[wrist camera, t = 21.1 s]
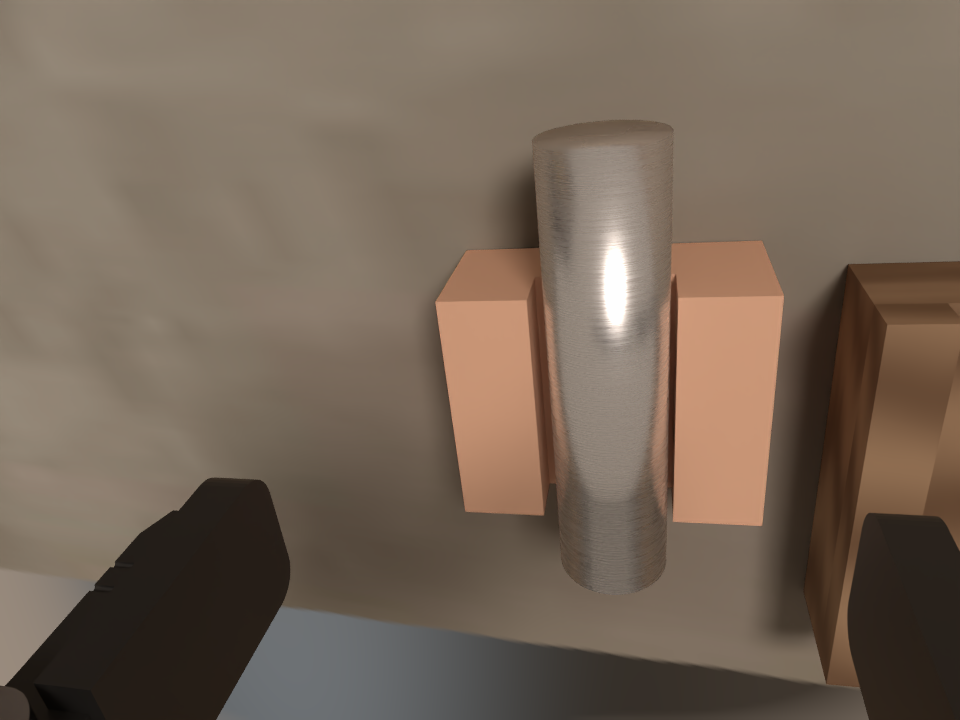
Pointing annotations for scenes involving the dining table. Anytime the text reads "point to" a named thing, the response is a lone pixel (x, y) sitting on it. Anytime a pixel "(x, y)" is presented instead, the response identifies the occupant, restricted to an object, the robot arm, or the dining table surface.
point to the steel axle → (608, 342)
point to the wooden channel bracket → (884, 430)
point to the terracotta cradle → (692, 380)
